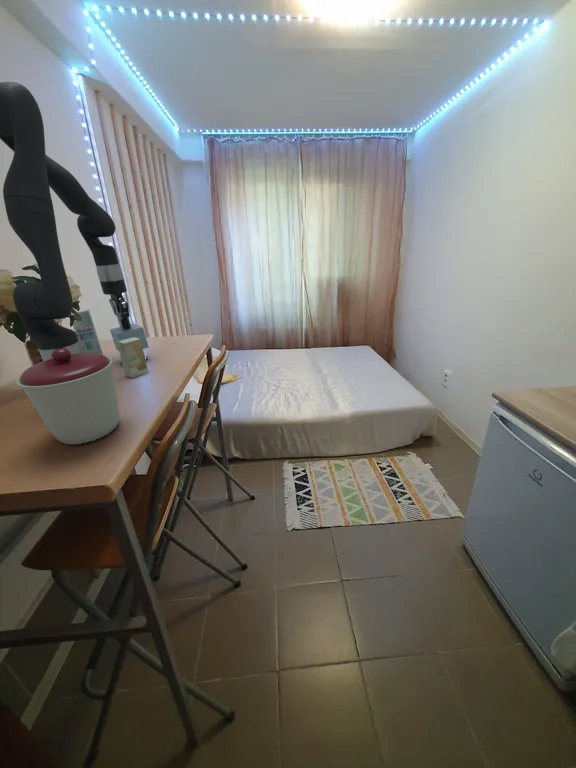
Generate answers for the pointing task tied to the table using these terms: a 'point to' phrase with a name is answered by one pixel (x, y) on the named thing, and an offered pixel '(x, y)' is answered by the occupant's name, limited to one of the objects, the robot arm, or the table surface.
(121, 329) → the blue stepped block
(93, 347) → the tall pale blue carton
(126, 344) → the skincare box
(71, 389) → the canister
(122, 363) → the rest mark
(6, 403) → the table surface
